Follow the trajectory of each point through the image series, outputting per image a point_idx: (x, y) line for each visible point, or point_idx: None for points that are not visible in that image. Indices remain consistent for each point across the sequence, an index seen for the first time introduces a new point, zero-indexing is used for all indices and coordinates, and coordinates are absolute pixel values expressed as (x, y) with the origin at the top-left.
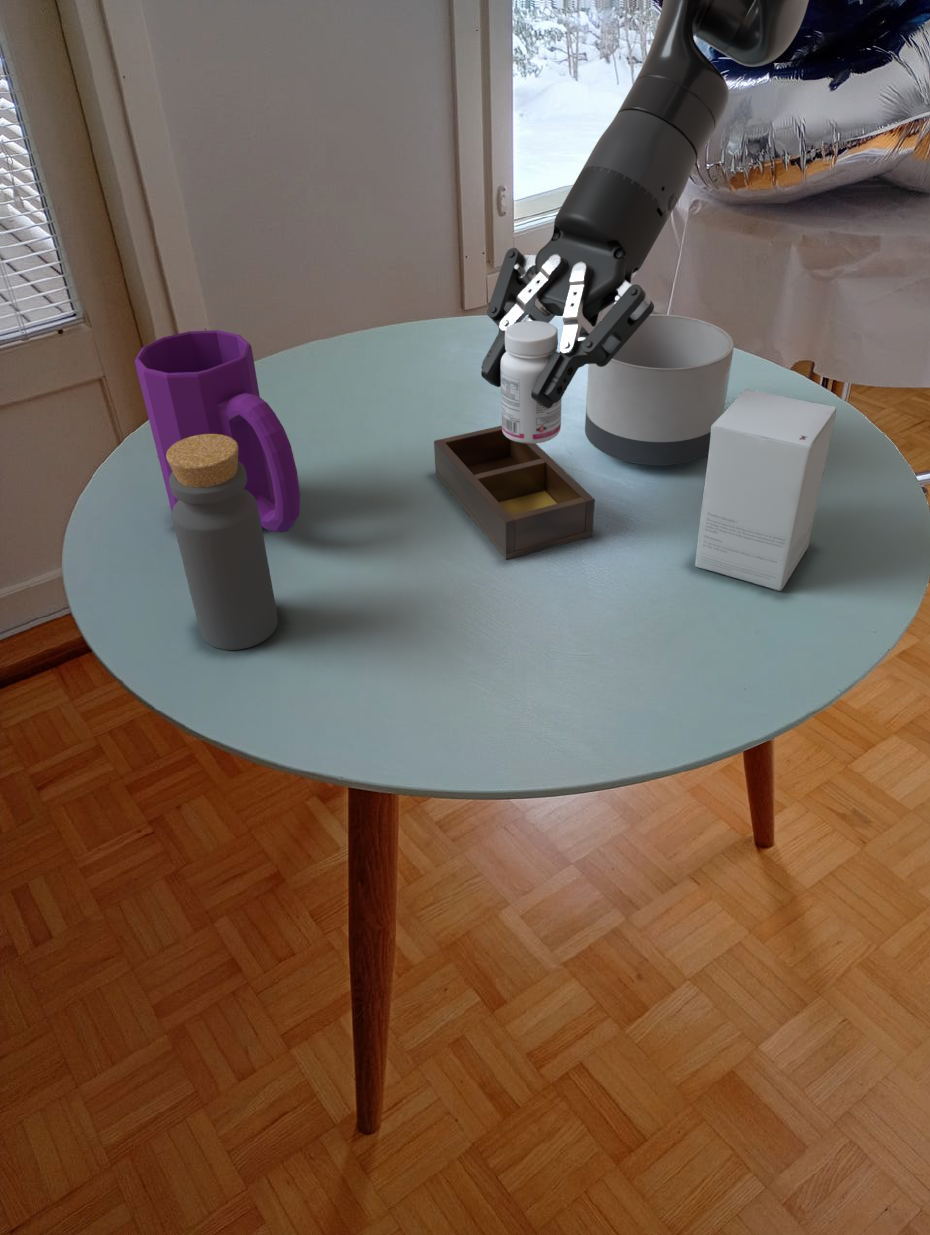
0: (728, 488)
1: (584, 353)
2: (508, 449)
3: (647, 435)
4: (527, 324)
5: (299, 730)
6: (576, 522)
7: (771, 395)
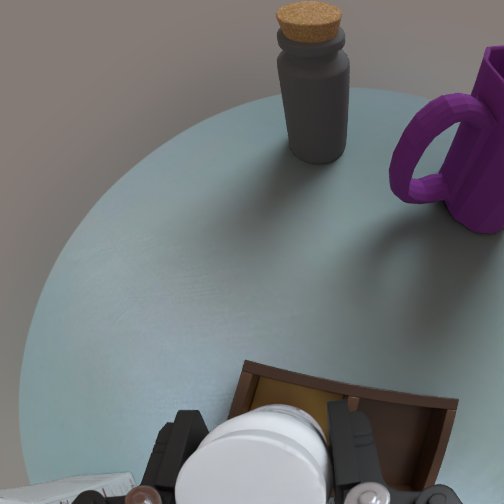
0: (60, 488)
1: (111, 500)
2: (412, 485)
3: None
4: None
5: (200, 139)
6: None
7: None
